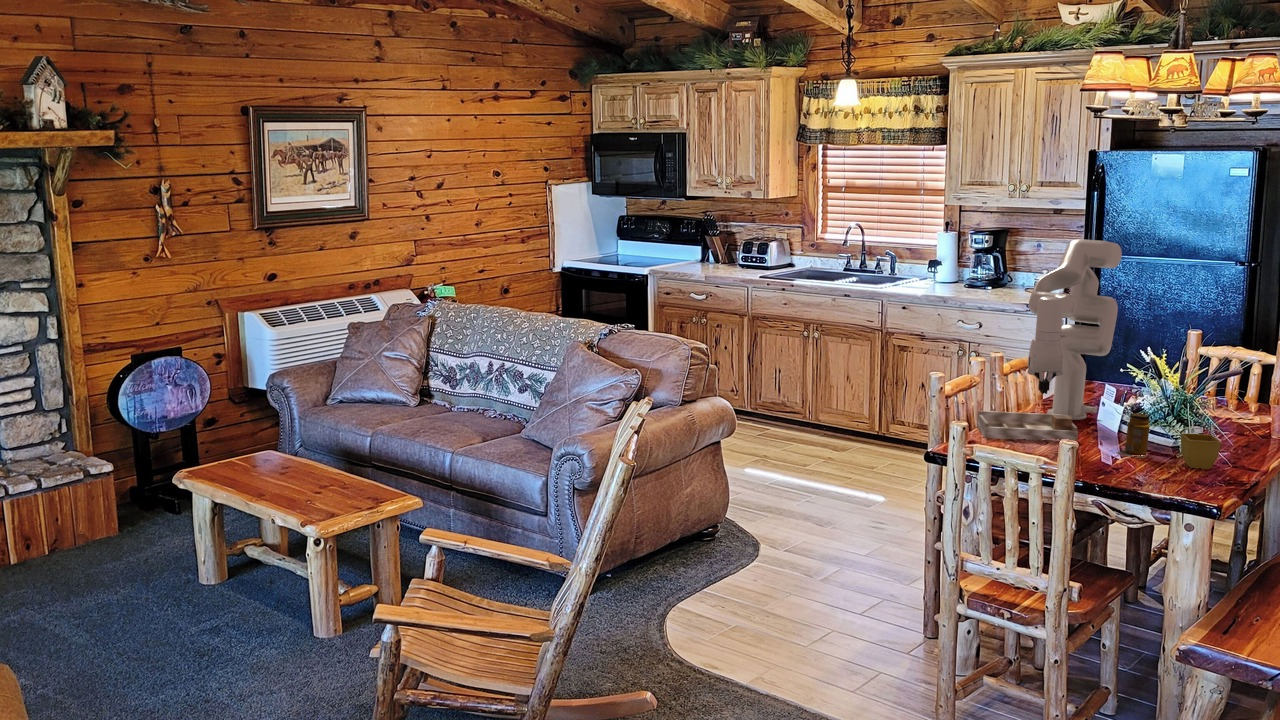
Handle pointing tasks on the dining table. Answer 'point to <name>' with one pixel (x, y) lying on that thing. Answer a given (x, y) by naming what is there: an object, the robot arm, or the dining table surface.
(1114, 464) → the dining table surface
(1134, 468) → the dining table surface
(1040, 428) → the compartment box
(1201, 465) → the flower pot
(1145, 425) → the condiment
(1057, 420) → the walnut block
